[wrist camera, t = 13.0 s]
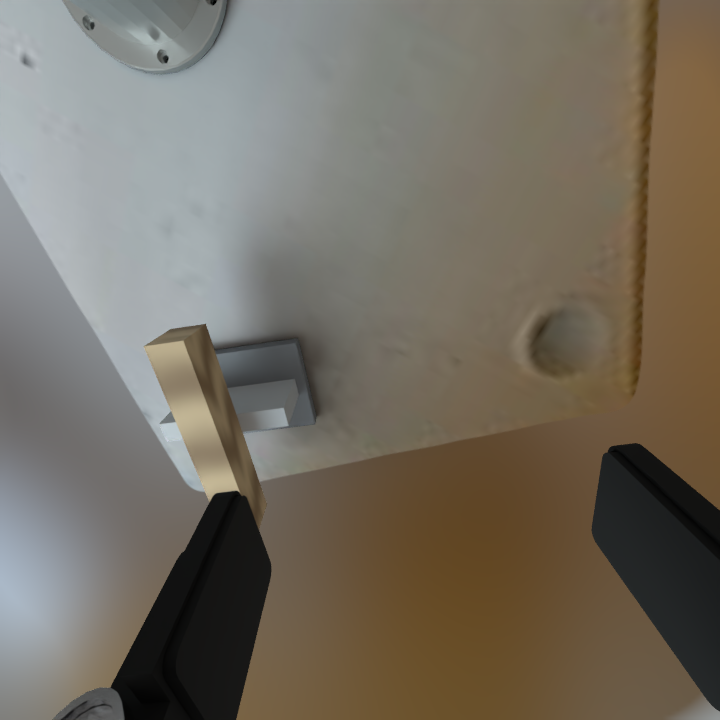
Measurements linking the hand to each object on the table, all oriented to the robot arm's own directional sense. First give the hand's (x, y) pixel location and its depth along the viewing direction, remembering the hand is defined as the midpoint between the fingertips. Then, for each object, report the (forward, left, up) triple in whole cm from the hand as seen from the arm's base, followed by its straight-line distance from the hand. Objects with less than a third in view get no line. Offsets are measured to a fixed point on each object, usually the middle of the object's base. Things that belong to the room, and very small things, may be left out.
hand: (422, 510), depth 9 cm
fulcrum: (+9, -16, -28) cm, 34 cm away
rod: (+9, -16, -21) cm, 28 cm away
